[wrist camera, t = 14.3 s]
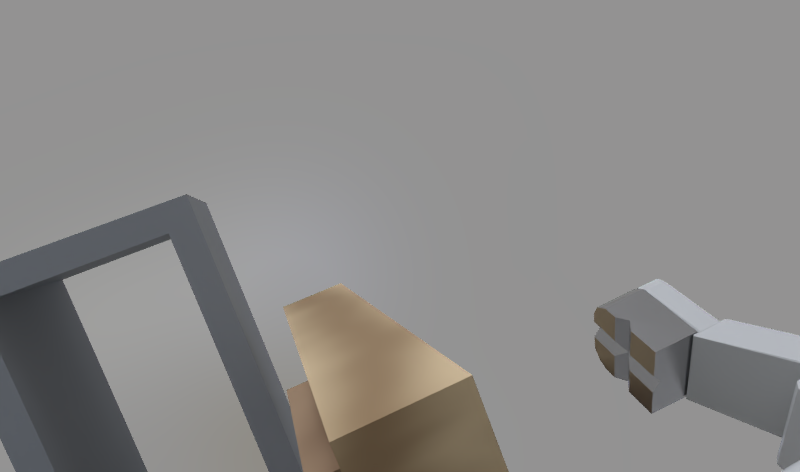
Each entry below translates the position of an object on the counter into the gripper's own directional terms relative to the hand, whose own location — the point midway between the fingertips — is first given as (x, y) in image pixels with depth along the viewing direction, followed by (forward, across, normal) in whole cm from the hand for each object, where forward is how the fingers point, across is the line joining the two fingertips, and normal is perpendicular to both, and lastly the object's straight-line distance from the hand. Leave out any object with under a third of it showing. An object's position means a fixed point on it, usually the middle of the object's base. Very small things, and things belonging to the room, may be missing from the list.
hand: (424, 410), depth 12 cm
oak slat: (+9, 0, +9) cm, 13 cm away
